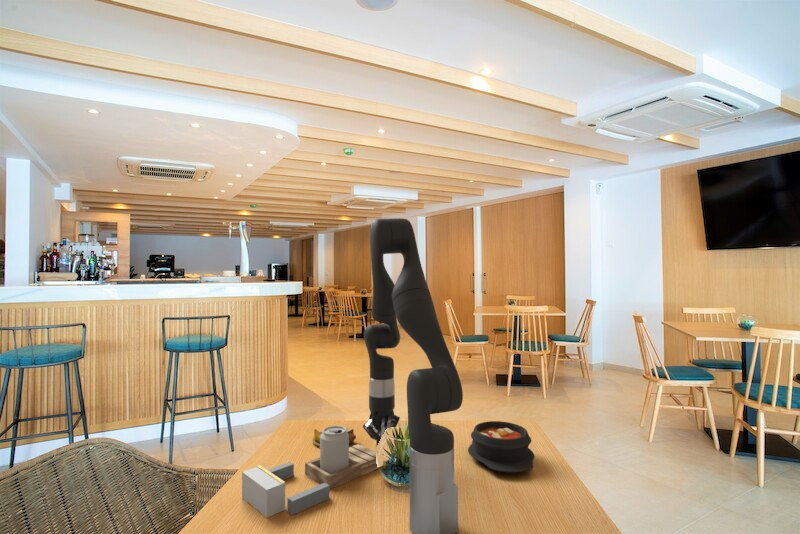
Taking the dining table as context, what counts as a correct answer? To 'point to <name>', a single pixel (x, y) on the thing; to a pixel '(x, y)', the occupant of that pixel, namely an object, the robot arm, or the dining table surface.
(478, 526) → the dining table surface
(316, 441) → the toy sandwich meal
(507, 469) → the casserole
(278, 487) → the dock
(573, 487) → the dining table surface
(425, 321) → the robot arm
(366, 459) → the pallet
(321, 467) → the can
